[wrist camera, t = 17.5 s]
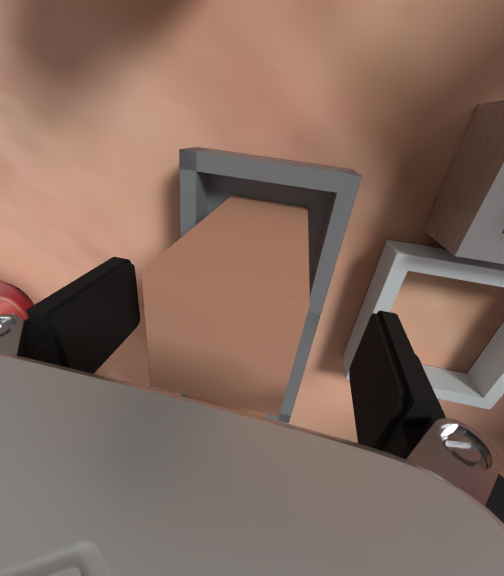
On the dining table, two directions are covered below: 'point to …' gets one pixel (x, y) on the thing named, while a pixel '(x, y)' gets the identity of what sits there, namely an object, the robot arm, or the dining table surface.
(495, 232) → the grey square holder
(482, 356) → the light grey square frame
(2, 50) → the dining table surface
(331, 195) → the grey two-slot rack
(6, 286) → the liquor
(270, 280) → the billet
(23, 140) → the dining table surface
